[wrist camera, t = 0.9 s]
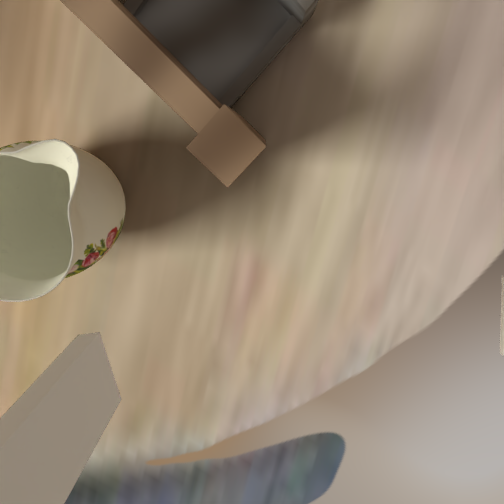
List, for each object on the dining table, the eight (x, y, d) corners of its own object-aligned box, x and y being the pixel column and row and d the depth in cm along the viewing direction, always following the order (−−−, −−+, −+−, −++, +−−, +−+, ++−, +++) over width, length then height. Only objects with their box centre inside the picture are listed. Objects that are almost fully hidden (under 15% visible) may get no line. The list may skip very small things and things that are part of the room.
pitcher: (-18, 220, 38) (-165, 266, 25) (100, 94, 34) (-3, 70, 21) (65, 295, 40) (-31, 374, 27) (183, 185, 36) (138, 216, 23)
